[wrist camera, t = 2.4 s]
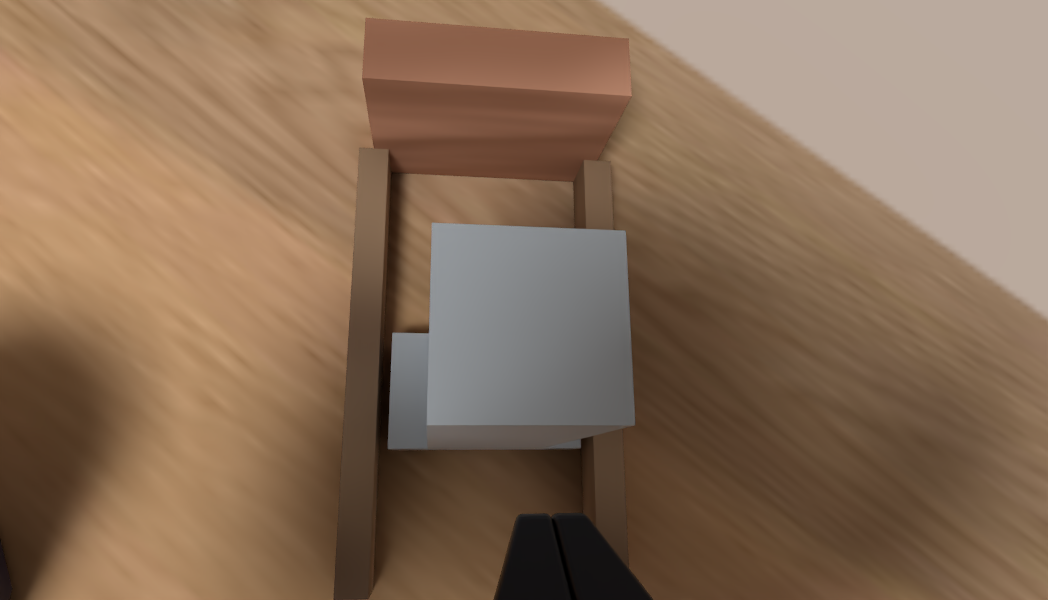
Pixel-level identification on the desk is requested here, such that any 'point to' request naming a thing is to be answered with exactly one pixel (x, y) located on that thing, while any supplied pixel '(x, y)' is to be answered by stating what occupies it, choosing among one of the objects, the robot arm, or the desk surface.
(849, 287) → the desk surface
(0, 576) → the speaker
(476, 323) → the sliding block
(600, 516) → the guide track
